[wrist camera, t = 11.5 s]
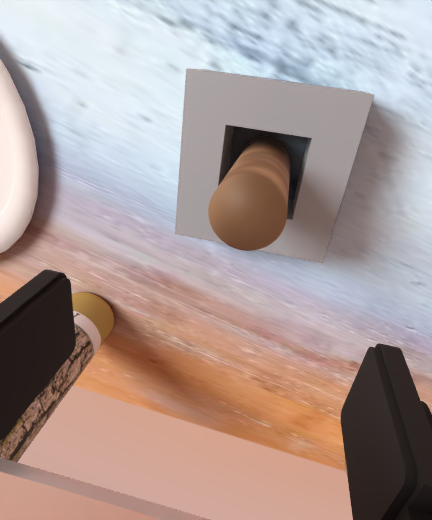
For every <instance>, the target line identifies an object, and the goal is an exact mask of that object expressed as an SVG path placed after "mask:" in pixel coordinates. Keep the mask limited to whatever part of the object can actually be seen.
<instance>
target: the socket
mask: <svg viewBox="0 0 432 520" xmlns="http://www.w3.org/2000/svg"><path fill="white" fill-rule="evenodd" d="M373 97H374V95H373V94H370V93H366V92H362V91H355V90H348V89H341V88H333V87H326V86H319V85H312V84H305V83H297V82H290V81H283V80H276V79H268V78H261V77H254V76H247V75H240V74H232V73H225V72H218V71H211V70H203V69H186V81H185V96H184V110H183V125H182V139H181V154H180V169H179V183H178V198H177V212H176V227H175V234H178V235H183V236H188V237H193V238H198V239H203V240H208V241H213V242H218V243H223V244H226V243H224V242H223V241H222V240H221V239H219V237H218V236H217V235H216V234H215V232H214V231H213V229H212V227H211V224H210V221H209V216H208V207H209V203H210V199H211V197H212V195H213V193H214V192H215V190H216V189H217V188H218V186H219V185H220V183H221V182H222V180H223V179H224V178H225V176H226V175H227V173H228V171H229V163H230V156H231V149H232V141H233V134H234V126H238V127H244V128H250V129H257V130H263V131H269V132H276V133H282V134H289V135H295V136H301V137H308V139H307V143H306V148H305V152H304V156H303V160H302V165H301V169H300V173H299V178H298V182H297V186H296V190H295V195H294V199H293V201H292V200H288V208H287V219H286V224H285V227H284V229H283V231H282V233H281V235H280V236H279V237H278V238H277V239H276V240H275V241H274V242H273V243H272V244H270V245H268V246H266V247H264V248H262V249H258V250H259V251H264V252H269V253H274V254H279V255H284V256H289V257H294V258H299V259H304V260H309V261H314V262H320V263H323V261H324V258H325V254H326V251H327V248H328V245H329V241H330V238H331V235H332V231H333V228H334V225H335V222H336V218H337V215H338V212H339V208H340V205H341V202H342V199H343V195H344V192H345V189H346V185H347V182H348V179H349V176H350V172H351V169H352V166H353V163H354V159H355V156H356V153H357V149H358V146H359V143H360V140H361V136H362V133H363V130H364V126H365V123H366V120H367V117H368V113H369V110H370V107H371V103H372V100H373Z"/></svg>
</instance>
